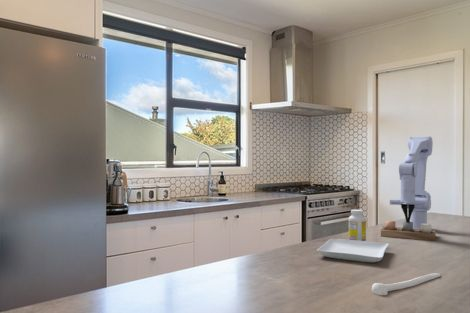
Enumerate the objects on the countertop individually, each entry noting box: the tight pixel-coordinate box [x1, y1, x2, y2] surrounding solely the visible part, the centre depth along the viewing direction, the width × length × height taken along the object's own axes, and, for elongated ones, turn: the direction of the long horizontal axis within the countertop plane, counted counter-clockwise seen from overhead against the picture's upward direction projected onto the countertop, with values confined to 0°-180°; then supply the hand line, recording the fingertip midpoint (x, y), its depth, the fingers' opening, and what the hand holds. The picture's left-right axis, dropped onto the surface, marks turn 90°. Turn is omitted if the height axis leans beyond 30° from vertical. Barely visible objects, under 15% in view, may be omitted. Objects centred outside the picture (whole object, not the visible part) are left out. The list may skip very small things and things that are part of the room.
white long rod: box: [371, 272, 441, 296], centre depth 103 cm, size 28×4×3 cm, turn 123°
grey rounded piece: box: [402, 220, 413, 231], centre depth 164 cm, size 4×4×4 cm
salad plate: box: [316, 238, 390, 264], centre depth 133 cm, size 21×21×3 cm
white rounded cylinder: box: [421, 223, 432, 233], centre depth 161 cm, size 4×4×4 cm
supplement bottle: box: [348, 209, 367, 241], centre depth 152 cm, size 7×7×13 cm
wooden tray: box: [380, 225, 437, 242], centre depth 164 cm, size 11×21×2 cm, turn 64°
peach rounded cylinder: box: [385, 220, 396, 230], centre depth 167 cm, size 4×4×4 cm
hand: (407, 222), depth 164 cm, fingers closed
